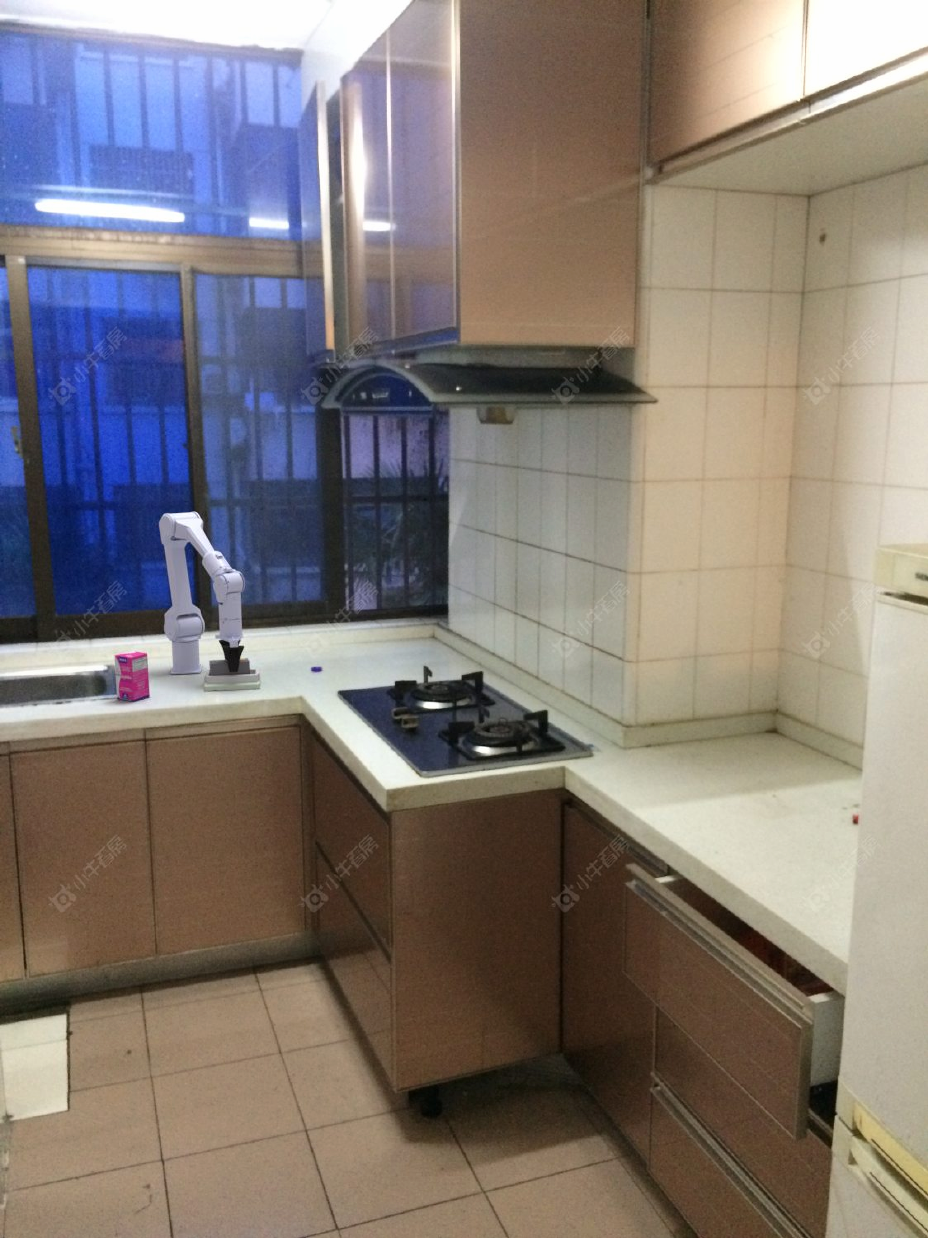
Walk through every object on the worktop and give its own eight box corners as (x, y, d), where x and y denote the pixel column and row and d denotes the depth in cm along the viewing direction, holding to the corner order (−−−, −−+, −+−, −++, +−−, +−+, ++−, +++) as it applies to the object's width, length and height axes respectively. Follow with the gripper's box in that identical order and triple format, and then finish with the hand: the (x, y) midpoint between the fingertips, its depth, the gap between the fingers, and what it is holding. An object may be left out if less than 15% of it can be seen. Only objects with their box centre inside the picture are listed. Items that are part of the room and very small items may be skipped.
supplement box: (116, 699, 256) (113, 654, 254) (133, 694, 261) (131, 650, 259) (133, 702, 253) (130, 657, 251) (150, 697, 259) (148, 652, 256)
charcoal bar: (210, 679, 272) (209, 659, 271) (248, 676, 275) (247, 657, 274) (211, 682, 269) (210, 662, 268) (250, 679, 272) (249, 660, 271)
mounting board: (206, 678, 278) (206, 667, 277) (259, 676, 280) (259, 665, 280) (204, 691, 264) (203, 679, 264) (259, 688, 267) (259, 677, 266)
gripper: (212, 614, 275) (214, 664, 277) (217, 623, 261) (219, 676, 264) (239, 613, 277) (240, 662, 279) (245, 622, 263) (247, 674, 266)
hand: (232, 668), depth 272 cm, fingers open, 6 cm apart
